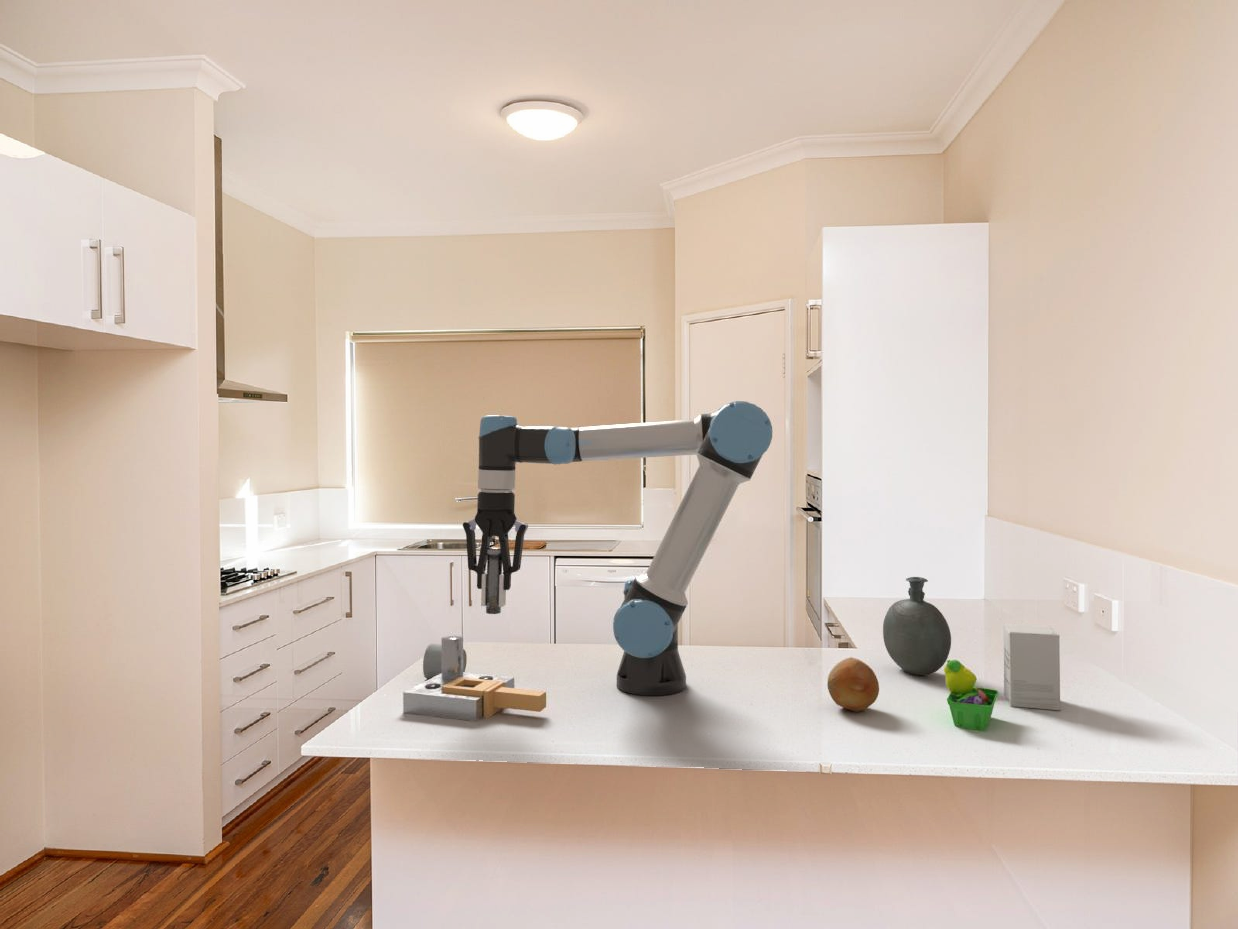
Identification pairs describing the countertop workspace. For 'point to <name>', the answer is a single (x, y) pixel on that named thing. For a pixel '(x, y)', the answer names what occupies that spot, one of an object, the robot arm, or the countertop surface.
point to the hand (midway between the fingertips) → (493, 605)
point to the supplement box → (1032, 666)
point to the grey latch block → (444, 704)
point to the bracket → (498, 695)
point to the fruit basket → (968, 698)
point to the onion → (853, 685)
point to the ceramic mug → (436, 661)
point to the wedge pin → (493, 579)
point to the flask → (916, 632)
